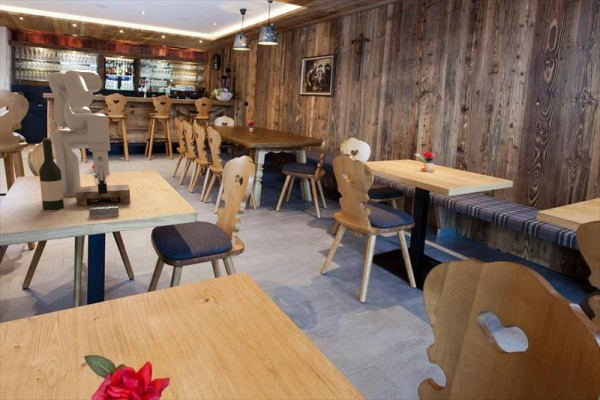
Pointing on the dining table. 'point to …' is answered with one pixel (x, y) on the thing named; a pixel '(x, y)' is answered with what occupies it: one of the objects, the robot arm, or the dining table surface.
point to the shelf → (92, 194)
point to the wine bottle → (50, 180)
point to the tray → (104, 210)
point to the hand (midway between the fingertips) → (102, 193)
